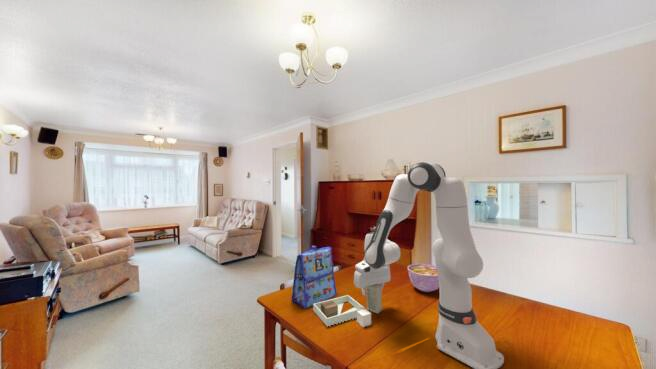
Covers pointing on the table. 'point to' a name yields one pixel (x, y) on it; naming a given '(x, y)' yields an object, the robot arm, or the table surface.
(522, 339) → the table surface
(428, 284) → the bowl of food
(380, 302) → the skincare box
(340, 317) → the tray
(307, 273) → the lunch bag
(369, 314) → the cream cube
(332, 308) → the walnut block
